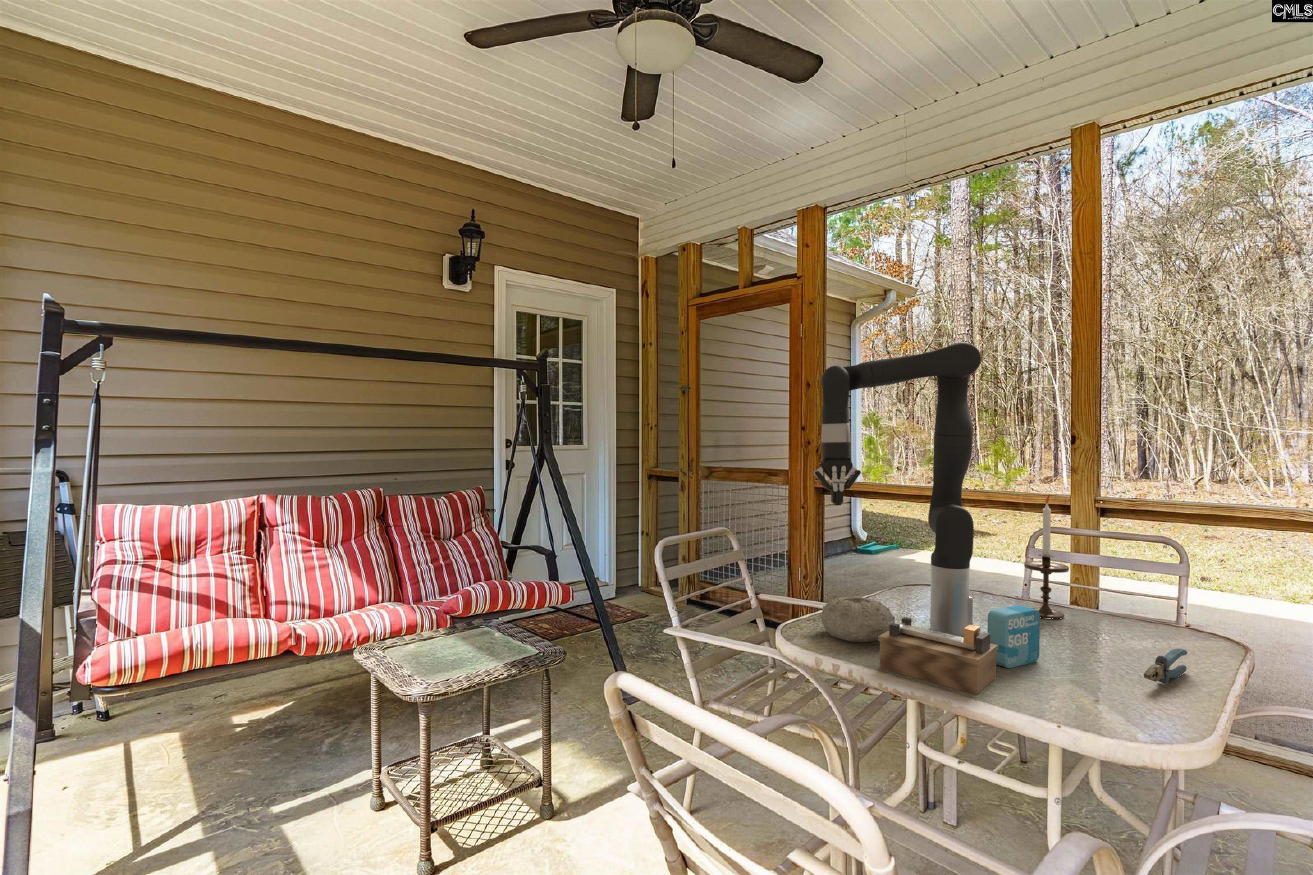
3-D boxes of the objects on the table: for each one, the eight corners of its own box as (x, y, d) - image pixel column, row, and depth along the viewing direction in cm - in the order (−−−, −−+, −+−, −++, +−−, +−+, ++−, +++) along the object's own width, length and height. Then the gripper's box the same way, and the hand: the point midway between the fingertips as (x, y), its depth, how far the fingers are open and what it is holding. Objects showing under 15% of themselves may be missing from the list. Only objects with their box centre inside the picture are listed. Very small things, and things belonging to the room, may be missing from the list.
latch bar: (893, 632, 141) (894, 613, 141) (901, 628, 144) (901, 609, 144) (973, 651, 129) (973, 630, 129) (979, 646, 132) (980, 626, 132)
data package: (1005, 669, 138) (1005, 615, 138) (986, 663, 143) (987, 610, 142) (1039, 661, 144) (1040, 608, 144) (1020, 655, 148) (1021, 604, 148)
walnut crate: (877, 667, 139) (878, 621, 139) (901, 653, 148) (902, 610, 148) (978, 695, 125) (978, 643, 125) (997, 677, 134) (998, 629, 134)
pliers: (1152, 694, 126) (1152, 665, 126) (1139, 691, 128) (1140, 661, 128) (1189, 674, 137) (1190, 647, 137) (1177, 671, 139) (1178, 644, 138)
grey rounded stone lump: (821, 624, 171) (822, 587, 170) (891, 630, 166) (892, 592, 166) (819, 645, 153) (820, 604, 153) (897, 653, 148) (898, 610, 148)
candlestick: (1077, 619, 176) (1079, 494, 176) (1044, 621, 174) (1046, 495, 174) (1046, 609, 187) (1047, 491, 187) (1014, 610, 185) (1016, 491, 184)
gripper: (815, 441, 166) (817, 507, 166) (865, 440, 166) (866, 506, 166) (807, 441, 173) (809, 504, 173) (855, 440, 174) (856, 503, 174)
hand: (837, 505), depth 170 cm, fingers closed
